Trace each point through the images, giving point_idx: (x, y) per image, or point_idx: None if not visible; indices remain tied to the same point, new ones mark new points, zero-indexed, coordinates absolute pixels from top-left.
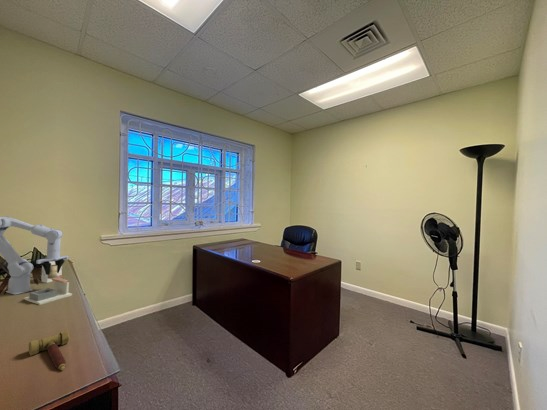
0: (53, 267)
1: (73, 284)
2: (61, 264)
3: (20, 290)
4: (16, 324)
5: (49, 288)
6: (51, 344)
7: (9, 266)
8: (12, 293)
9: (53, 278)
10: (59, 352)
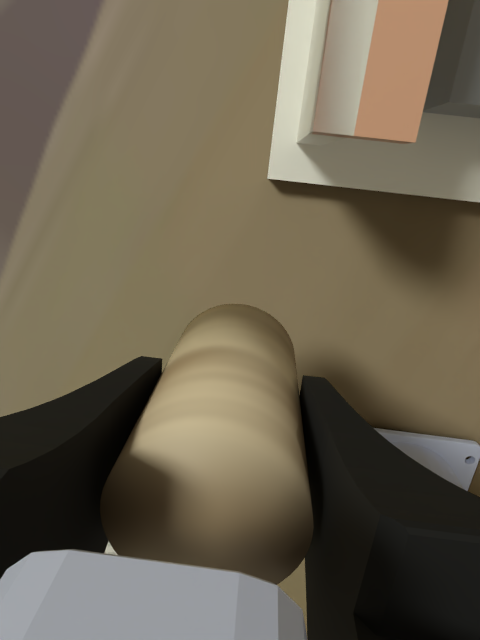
0: (250, 425)
1: (37, 251)
2: (20, 422)
3: (438, 463)
4: None
5: (459, 62)
6: None
7: None
8: (471, 478)
9: (401, 109)
10: None
